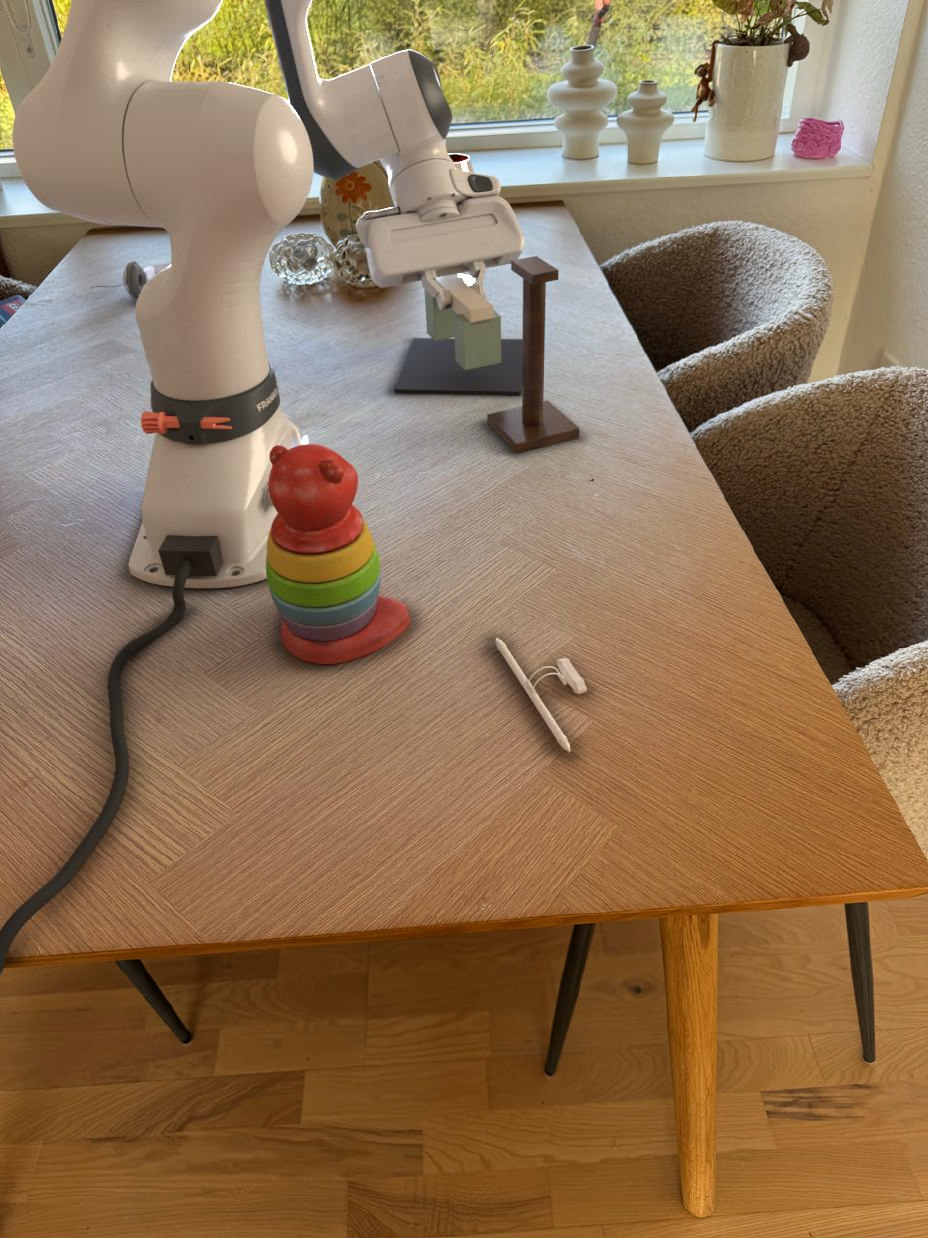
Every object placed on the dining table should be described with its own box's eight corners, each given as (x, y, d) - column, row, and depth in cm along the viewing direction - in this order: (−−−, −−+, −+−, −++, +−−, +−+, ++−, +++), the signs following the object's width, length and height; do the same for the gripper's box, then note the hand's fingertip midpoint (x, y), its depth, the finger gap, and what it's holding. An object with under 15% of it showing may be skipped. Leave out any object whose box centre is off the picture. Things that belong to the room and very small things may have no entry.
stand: (516, 453, 104) (516, 283, 91) (487, 423, 109) (483, 260, 97) (579, 437, 106) (587, 270, 94) (547, 408, 112) (550, 247, 99)
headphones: (202, 309, 137) (243, 283, 155) (195, 269, 135) (238, 247, 152) (90, 309, 139) (143, 283, 156) (82, 269, 136) (137, 247, 153)
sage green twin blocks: (464, 370, 115) (462, 311, 110) (426, 333, 124) (423, 276, 119) (501, 362, 116) (500, 303, 111) (461, 326, 125) (459, 270, 121)
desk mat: (520, 395, 115) (520, 391, 114) (393, 392, 116) (393, 389, 116) (528, 342, 127) (528, 339, 126) (413, 341, 129) (413, 337, 128)
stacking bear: (420, 618, 82) (404, 438, 70) (347, 685, 75) (316, 499, 64) (327, 579, 87) (299, 405, 75) (251, 639, 80) (207, 459, 69)
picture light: (492, 643, 79) (491, 624, 77) (538, 629, 80) (539, 610, 79) (565, 756, 69) (565, 736, 67) (616, 739, 70) (618, 719, 68)
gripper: (355, 200, 111) (390, 307, 110) (509, 175, 116) (543, 277, 116) (348, 228, 117) (381, 330, 116) (495, 203, 122) (527, 301, 122)
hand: (463, 304), depth 116 cm, fingers closed on sage green twin blocks, 3 cm apart
